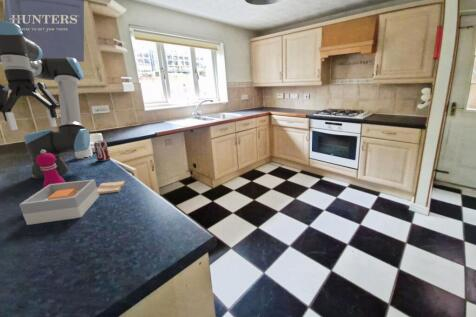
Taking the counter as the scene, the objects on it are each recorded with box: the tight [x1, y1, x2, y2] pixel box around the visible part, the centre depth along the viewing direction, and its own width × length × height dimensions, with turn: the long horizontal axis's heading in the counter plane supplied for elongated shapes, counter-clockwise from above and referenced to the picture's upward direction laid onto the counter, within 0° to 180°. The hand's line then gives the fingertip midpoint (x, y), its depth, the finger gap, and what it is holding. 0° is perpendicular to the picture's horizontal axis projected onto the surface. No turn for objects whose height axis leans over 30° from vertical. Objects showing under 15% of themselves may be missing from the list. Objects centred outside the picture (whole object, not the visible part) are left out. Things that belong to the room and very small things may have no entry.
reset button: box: [48, 188, 77, 200], centre depth 80 cm, size 6×6×4 cm
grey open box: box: [18, 178, 100, 226], centre depth 80 cm, size 16×16×8 cm
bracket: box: [74, 132, 104, 159], centre depth 155 cm, size 25×10×12 cm, turn 4°
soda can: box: [94, 139, 111, 162], centre depth 137 cm, size 7×7×12 cm
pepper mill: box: [36, 150, 67, 188], centre depth 89 cm, size 7×7×20 cm
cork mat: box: [97, 180, 126, 195], centre depth 97 cm, size 10×10×1 cm
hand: (34, 128), depth 85 cm, fingers open, 13 cm apart
